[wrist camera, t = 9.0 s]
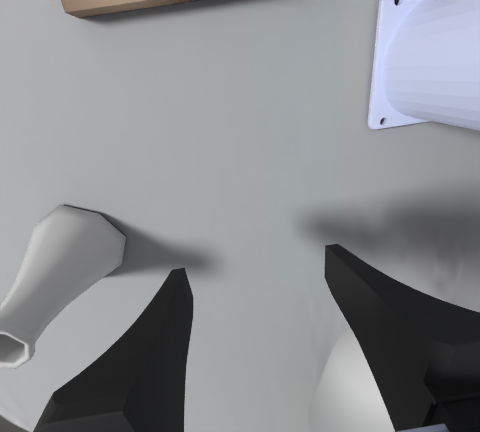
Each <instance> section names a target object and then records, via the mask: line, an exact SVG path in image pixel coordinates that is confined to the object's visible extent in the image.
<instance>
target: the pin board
mask: <svg viewBox="0 0 480 432" xmlns="http://www.w3.org/2000/svg"><path fill="white" fill-rule="evenodd" d="M189 1H196V0H61V2H62V5H63V8H64V11H65V13H68V14H70V15H72V16H75V17H77V18H81V17H88V16H94V15H101V14H108V13H115V12H121V11H128V10H135V9H142V8H149V7H155V6H162V5H169V4H176V3H182V2H189Z"/></svg>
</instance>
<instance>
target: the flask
mask: <svg viewBox="0 0 480 432" xmlns="http://www.w3.org/2000/svg"><path fill="white" fill-rule="evenodd" d="M125 241H126V237H125V236H124V235H123V234H122V233H121V232H119V231H118V230H117V229H116V228H115V227H114V226H113V225H111V224H110V223H109V222H108V221H107V220H106V219H105V218H103V217H102V216H101V215H100V214H98V213H94V212H90V211H85V210H81V209H76V208H72V207H67V206H63V205H59V206H58V207H57V208H56V209H54V210H53V211H52V212H51V213H49V214H48V215H47V216H46V217H45V218H43V219H42V220H41V221H40V222H38V223H37V224H36V226H35V229H34V231H33V234H32V237H31V240H30V243H29V246H28V249H27V252H26V255H25V258H24V261H23V263H22V266H21V268H20V271H19V273H18V276H17V278H16V281H15V284H14V286H13V288H12V289H11V291H10V292H9V294H8V295H7V297H6V299H5V300H4V302H3V303H2V305H1V306H0V367H5V368H15V369H16V368H18V367H19V366H21V365H22V364H24V363H25V362H27V361H29V360H30V359H31V358H32V357H33V355H34V353H35V342H36V341H37V339H38V338H39V336H40V335H41V334H42V332H43V331H44V329H45V328H46V326H47V325H48V324H49V323H50V322H51V321H52V320H53V319H54V318H55V317H56V316H57V315H58V314H59V313H60V312H61V311H62V310H63V309H64V308H65V307H66V305H68V304H69V303H70V302H72V301H73V300H74V299H75V298H77V297H78V296H79V295H81V294H82V293H83V292H84V291H86V290H87V289H88V288H90V287H91V286H92V285H93V284H95V283H96V282H98V281H99V280H100V279H102V278H103V277H105V276H106V275H107V274H109V273H110V272H112V271H113V270H114V269H116V268H117V267H118V266H120V265H121V264H122V261H123V254H124V248H125Z"/></svg>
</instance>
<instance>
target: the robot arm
mask: <svg viewBox="0 0 480 432" xmlns="http://www.w3.org/2000/svg"><path fill="white" fill-rule="evenodd" d="M382 118H384V122H383V123H382V124H380V121H381V119H382ZM428 121H435V122H440V123H444V124H449V125H454V126H459V127H464V128H469V129H474V130H478V131H480V0H399V3H398V5H397V6H396V5H395V4H394V0H380V2H379V10H378V20H377V31H376V41H375V52H374V62H373V73H372V83H371V93H370V104H369V114H368V126H369V128H371V129H375V130H376V129H383V128H389V127H396V126H402V125H409V124H415V123H422V122H428ZM325 279H326V281H327V284H328V286H329V289H330V291H331V294H332V296H333V297H334V299H335V301H336V303H337V304H338V306H339V308H340V310H341V311H342V313H343V315H344V317H345V318H346V320H347V322H348V324H349V325H350V327H351V329H352V330H353V332H354V334H355V336H356V338H357V340H358V342H359V344H360V346H361V349H362V351H363V353H364V355H365V358H366V360H367V362H368V364H369V367H370V369H371V371H372V374H373V376H374V378H375V381H376V383H377V386H378V388H379V390H380V393H381V396H382V398H383V401H384V403H385V406H386V408H387V411H388V413H389V416H390V419H391V421H392V424H393V427H394V429H395V432H480V313H479V312H475V311H472V310H469V309H466V308H463V307H460V306H457V305H453V304H451V303H448V302H445V301H442V300H440V299H437V298H434V297H432V296H430V295H427V294H425V293H422V292H420V291H418V290H415V289H413V288H411V287H409V286H407V285H405V284H403V283H401V282H398V281H397V280H395V279H393V278H391V277H389V276H387V275H386V274H384V273H382V272H380V271H379V270H377V269H375V268H374V267H372V266H370V265H369V264H367V263H366V262H364V261H362V260H361V259H359V258H358V257H356V256H355V255H353V254H352V253H350V252H349V251H348V250H346V249H345V248H343V247H342V246H340V245H338V244H333V245H327V246H325ZM192 320H193V295H192V291H191V288H190V285H189V281H188V278H187V275H186V271H185V268H180V269H174V270H172V271H171V272H170V274H169V275H168V277H167V279H166V280H165V282H164V283H163V285H162V286H161V288H160V289H159V291H158V292H157V294H156V295H155V296H154V298H153V299H152V301H151V302H150V303H149V305H148V306H147V307H146V309H145V310H144V311H143V313H142V314H141V315H140V316H139V318H138V319H137V320H136V321H135V322H134V324H133V325H132V326H131V327H130V328H129V329H128V330H127V331H126V332H125V333H124V334H123V335H122V336H121V337H120V338H119V339H118V340H117V341H116V342H115V343H114V344H113V345H112V346H111V347H110V348H109V349H108V350H107V351H106V352H105V353H104V354H102V355H101V356H100V357H99V358H98V359H97V360H96V361H94V362H93V363H92V364H91V365H89V366H88V367H87V368H86V369H85V370H83V371H82V372H81V373H80V374H78V375H77V376H76V377H74V378H73V379H72V380H70V381H69V382H67V383H66V384H65V385H63V386H62V387H61V388H59V389H58V390H57V391H55V392H54V393H53V395H52V396H51V398H50V400H49V402H48V403H47V405H46V407H45V409H44V411H43V413H42V415H41V417H40V419H39V421H38V423H37V425H36V427H35V429H34V431H33V432H184V400H185V376H186V363H187V355H188V348H189V341H190V334H191V327H192Z"/></svg>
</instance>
